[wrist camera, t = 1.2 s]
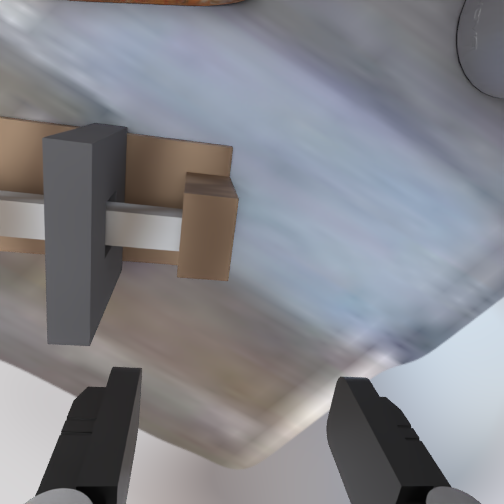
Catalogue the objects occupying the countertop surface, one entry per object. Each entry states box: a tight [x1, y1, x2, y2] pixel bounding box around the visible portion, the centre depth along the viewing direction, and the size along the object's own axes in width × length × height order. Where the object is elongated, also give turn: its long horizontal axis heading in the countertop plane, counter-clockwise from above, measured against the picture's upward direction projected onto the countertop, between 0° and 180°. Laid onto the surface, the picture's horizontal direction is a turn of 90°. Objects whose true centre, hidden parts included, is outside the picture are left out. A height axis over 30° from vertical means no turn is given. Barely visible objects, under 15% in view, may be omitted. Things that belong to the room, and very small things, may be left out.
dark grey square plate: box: [42, 123, 127, 346], centre depth 24 cm, size 2×10×10 cm, turn 172°
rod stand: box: [0, 117, 239, 281], centre depth 26 cm, size 24×9×8 cm, turn 82°
